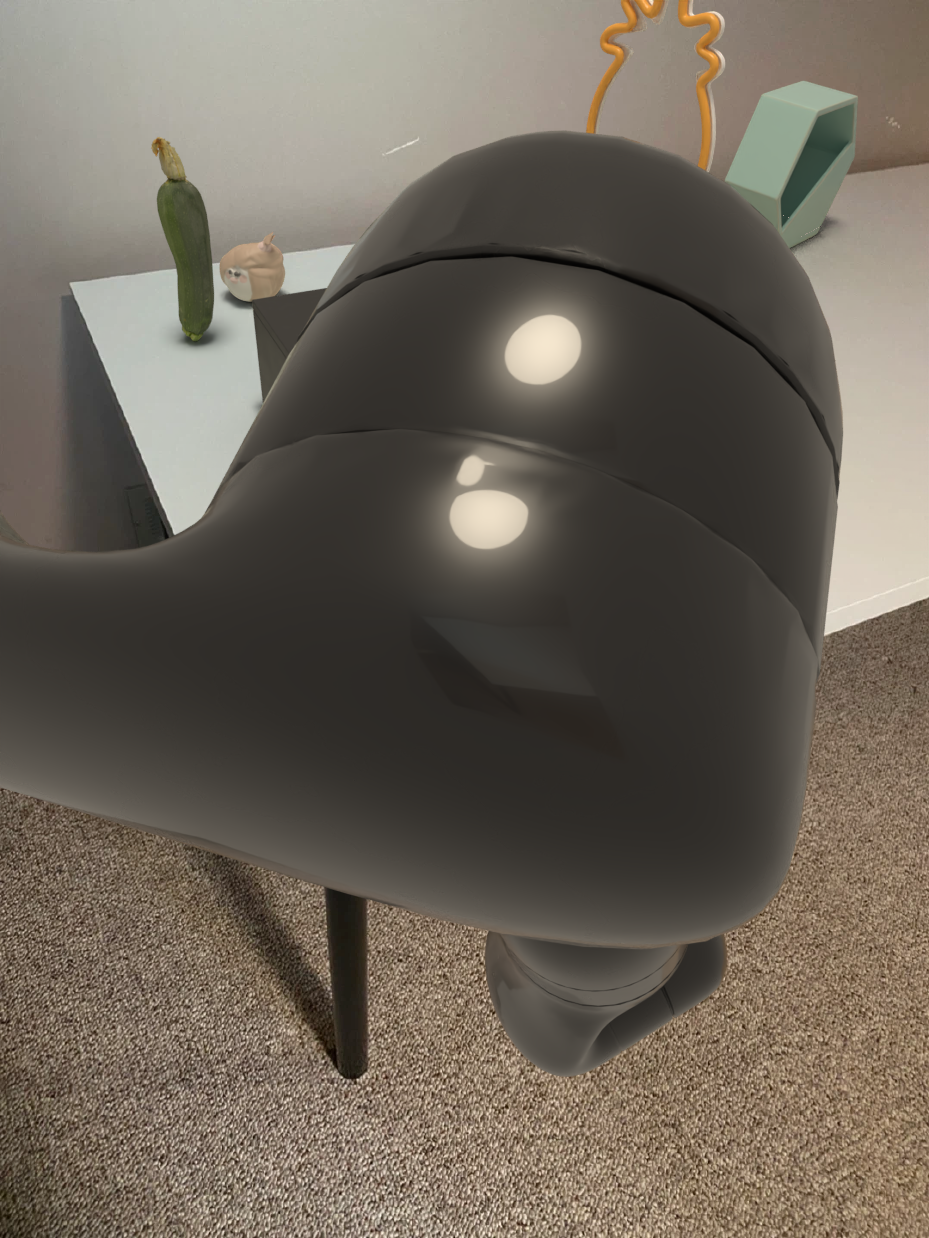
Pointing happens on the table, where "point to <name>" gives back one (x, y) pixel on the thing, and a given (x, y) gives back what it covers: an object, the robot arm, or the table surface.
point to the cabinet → (280, 330)
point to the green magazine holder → (796, 156)
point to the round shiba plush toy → (253, 270)
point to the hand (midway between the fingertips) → (335, 524)
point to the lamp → (638, 3)
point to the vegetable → (186, 241)
